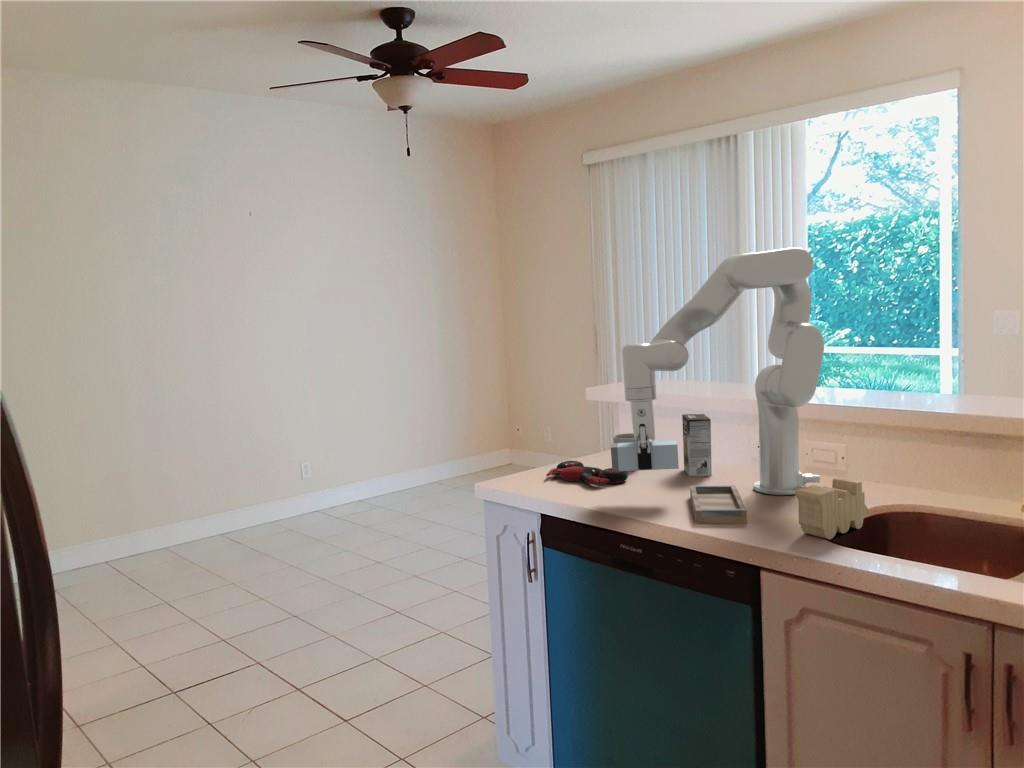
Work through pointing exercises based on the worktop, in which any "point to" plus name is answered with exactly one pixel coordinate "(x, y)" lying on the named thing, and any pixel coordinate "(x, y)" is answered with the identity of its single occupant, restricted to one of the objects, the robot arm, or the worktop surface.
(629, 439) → the mug
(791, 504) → the worktop surface
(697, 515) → the cradle
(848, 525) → the toy train
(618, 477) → the toy motorcycle
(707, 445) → the coffee box
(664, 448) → the light blue block
